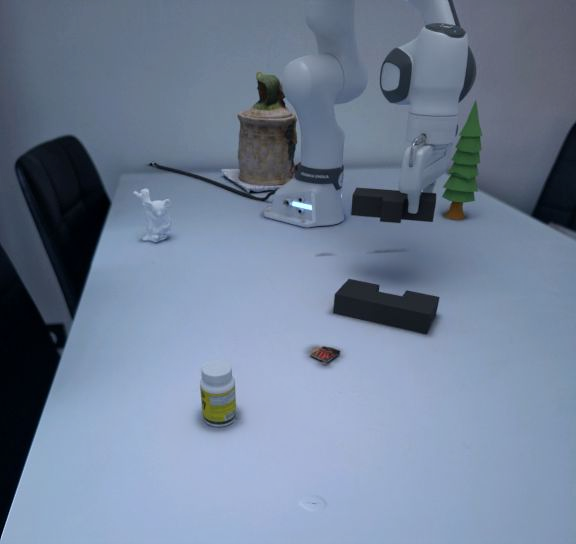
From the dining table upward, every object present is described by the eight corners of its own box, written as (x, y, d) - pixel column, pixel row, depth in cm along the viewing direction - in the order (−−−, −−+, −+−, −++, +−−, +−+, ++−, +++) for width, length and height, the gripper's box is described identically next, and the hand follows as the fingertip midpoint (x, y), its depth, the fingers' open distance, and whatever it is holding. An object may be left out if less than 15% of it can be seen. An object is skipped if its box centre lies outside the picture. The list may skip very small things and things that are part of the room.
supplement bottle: (203, 407, 76) (199, 357, 72) (236, 406, 77) (234, 357, 72) (202, 428, 73) (197, 377, 68) (236, 427, 73) (234, 376, 68)
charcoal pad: (333, 313, 101) (334, 293, 99) (347, 296, 107) (348, 278, 105) (426, 334, 95) (430, 314, 93) (435, 315, 101) (439, 296, 99)
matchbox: (341, 351, 90) (341, 348, 89) (331, 366, 86) (331, 363, 86) (315, 344, 91) (316, 342, 91) (304, 359, 87) (304, 356, 87)
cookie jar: (248, 194, 166) (246, 76, 147) (219, 176, 183) (214, 68, 165) (317, 186, 175) (323, 75, 157) (283, 169, 193) (285, 67, 175)
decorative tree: (435, 218, 151) (457, 99, 134) (440, 209, 158) (461, 95, 141) (470, 223, 148) (497, 101, 131) (474, 213, 155) (500, 97, 138)
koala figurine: (135, 243, 129) (128, 192, 122) (145, 233, 135) (138, 185, 128) (169, 245, 129) (164, 194, 122) (177, 235, 134) (172, 186, 127)
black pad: (349, 219, 104) (350, 198, 102) (354, 207, 111) (356, 187, 109) (432, 226, 101) (436, 204, 99) (433, 213, 108) (436, 193, 106)
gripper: (431, 141, 88) (419, 223, 96) (461, 124, 103) (448, 197, 111) (395, 137, 91) (386, 218, 99) (429, 122, 106) (419, 193, 114)
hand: (419, 207), depth 105 cm, fingers closed on black pad, 6 cm apart
